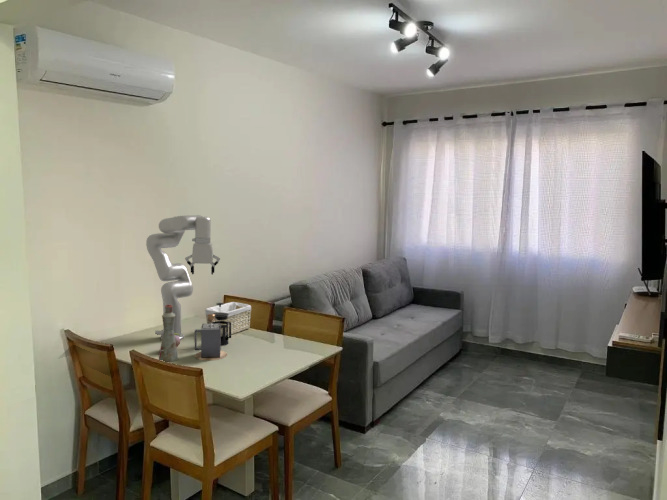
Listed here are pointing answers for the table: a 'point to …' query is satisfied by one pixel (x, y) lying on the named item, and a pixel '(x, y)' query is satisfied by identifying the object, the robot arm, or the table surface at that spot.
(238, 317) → the storage basket
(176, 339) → the decorative fruit
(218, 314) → the french press
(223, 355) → the coaster
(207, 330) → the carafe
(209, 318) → the plunger
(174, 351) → the bottle
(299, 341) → the table surface
